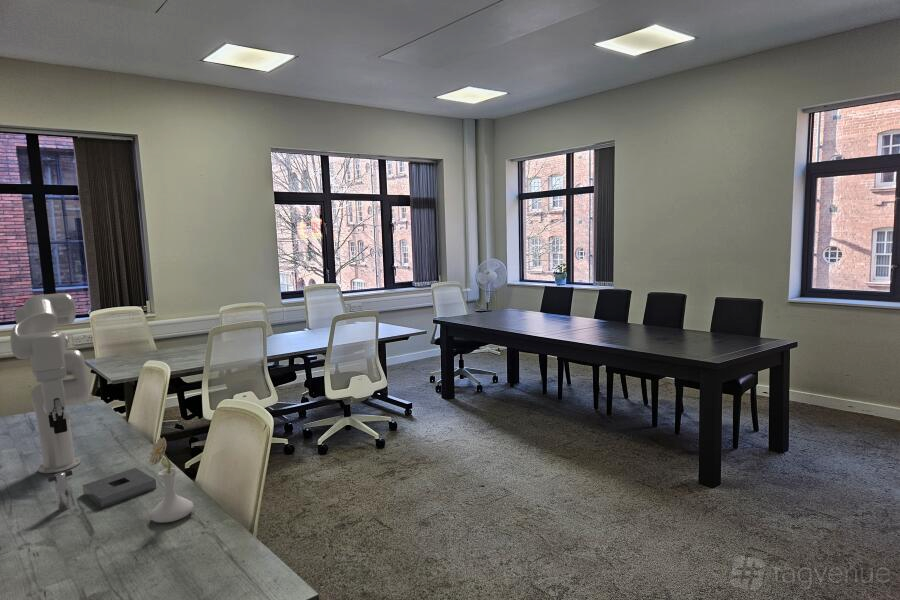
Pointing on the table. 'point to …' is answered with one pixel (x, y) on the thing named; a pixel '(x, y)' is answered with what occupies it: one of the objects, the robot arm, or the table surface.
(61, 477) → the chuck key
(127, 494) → the block
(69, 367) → the robot arm
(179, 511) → the flower in vase
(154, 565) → the table surface
